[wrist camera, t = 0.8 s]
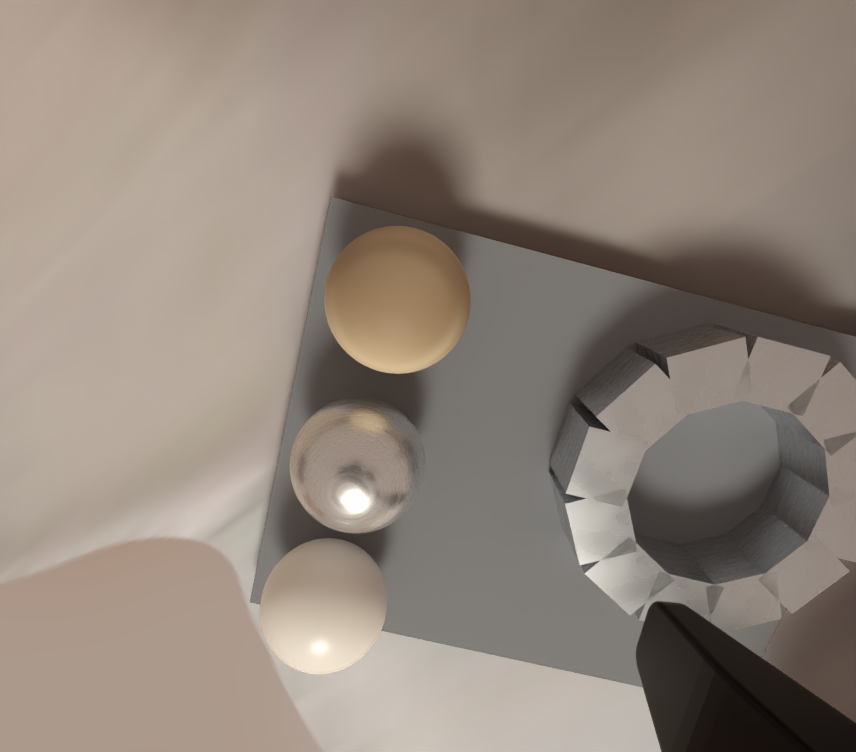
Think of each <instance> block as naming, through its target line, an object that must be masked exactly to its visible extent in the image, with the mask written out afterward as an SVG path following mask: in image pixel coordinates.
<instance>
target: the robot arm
mask: <svg viewBox="0 0 856 752" xmlns="http://www.w3.org/2000/svg"><path fill="white" fill-rule="evenodd" d="M636 664H637V668H638V672H639V675H640V679H641V682H642V686H643V689H644V693H645V696H646V700H647V703H648V707H649V710H650V713H651V717H652V720H653V724H654V727H655V731H656V734H657V738H658V741H659V745H660V748H661V752H856V723H855V722H853V721H852V720H850V719H849V718H848V717H846V716H845V715H843V714H842V713H840V712H839V711H837V710H836V709H835V708H833V707H832V706H830V705H829V704H827V703H826V702H825V701H823V700H822V699H820V698H819V697H817V696H816V695H814V694H813V693H812V692H810V691H809V690H807V689H806V688H804V687H803V686H801V685H800V684H799V683H797V682H796V681H794V680H793V679H791V678H790V677H788V676H787V675H786V674H784V673H783V672H781V671H780V670H778V669H777V668H776V667H774V666H773V665H771V664H770V663H768V662H767V661H765V660H764V659H763V658H761V657H760V656H758V655H757V654H755V653H754V652H752V651H751V650H750V649H748V648H747V647H745V646H744V645H742V644H741V643H740V642H738V641H737V640H735V639H734V638H732V637H731V636H729V635H728V634H727V633H725V632H724V631H722V630H721V629H719V628H718V627H716V626H715V625H714V624H712V623H711V622H709V621H708V620H706V619H705V618H704V617H702V616H701V615H699V614H698V613H696V612H695V611H693V610H692V609H691V608H689V607H688V606H686V605H684V604H681V603H675V602H664V601H656V602H653V603H652V604H651V605H650V607H649V609H648V611H647V615H646V618H645V621H644V624H643V627H642V631H641V634H640V637H639V640H638V643H637V647H636Z"/></svg>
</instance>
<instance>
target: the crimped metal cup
mask: <svg viewBox="0 0 856 752" xmlns="http://www.w3.org/2000/svg"><path fill="white" fill-rule="evenodd" d="M636 347H637V352H638V354H637V353H635V352H633V351H632V350H630V349H628V348H625V349H624V350H623V351H621V352H620V353H619V354H618V355H617V356H616V357H615V358H614V359H613V360H612V361H610V362H609V363H608V364H607V365H606V366H605V367H604V368H603V369H602V370H601V371H600V372H598V373H597V374H596V375H595V376H594V377H593V378H592V379H591V380H590V381H589V382H587V383H586V384H585V385H584V386H583V387H582V388H581V389H580V390H579V391H578V392H577V393H575V395H576V396H577V397H578V398H579V399H580V400H581V401H582V402H583V403H584V404H585V405H586V407H585V406H581V405H577V404H573V403H569V405H568V407H567V410H566V413H565V416H564V419H563V422H562V425H561V428H560V431H559V434H558V437H557V440H556V443H555V446H554V449H553V452H552V455H551V458H550V460H549V463H550V465H551V467H552V469H553V470H552V471H548V472H549V476H550V480H551V484H552V488H553V492H554V496H555V501H556V505H557V509H558V513H559V517H560V521H561V526H562V528H563V530H564V533H565V535H566V537H567V539H568V541H569V543H570V546H571V548H572V550H573V552H574V554H575V556H576V559H577V561H578V563H579V565H581V567H582V569H583V571H584V574H585V575H587V576H588V577H589V578H590V579H591V580H592V581H593V582H594V583H595V584H596V585H597V586H598V587H600V588H601V589H602V590H603V591H604V592H605V593H606V594H607V595H608V596H609V597H610V598H611V599H613V600H614V601H615V602H616V603H617V604H618V605H619V606H620V607H621V608H622V609H623V610H624V611H626V612H627V613H628V614H629V615H631V614H633V613H634V612H635V614H636V616H637V618H638V620H641V621H645V618H646V615H647V611H648V609H649V607H650V605H651V604H652V603H653V602H656V601H664V602H675V603H681V604H684V605H686V606H688V607H689V608H691V609H692V610H693V611H695V612H696V613H698V614H699V615H701V616H702V617H704V618H705V619H706V620H708V621H709V622H711V623H712V624H714V625H715V626H716V627H718V628H719V629H721V630H722V631H724V632H726V631H730V630H735V629H739V628H743V627H748V626H752V625H757V624H761V623H766V622H770V621H774V620H779V619H782V616H781V608H780V603H781V604H782V605H783V606H784V607H785V608H786V609H787V610H788V611H789V612H790V613H791V614H793V613H794V612H796V611H797V610H798V609H800V608H801V607H802V606H804V605H805V604H806V603H808V602H809V601H810V600H812V599H813V598H815V597H816V596H817V595H819V594H820V593H821V592H823V591H824V590H825V589H827V588H828V587H829V586H831V585H832V584H833V583H835V582H836V581H838V580H839V579H840V578H842V577H843V576H844V575H846V574H847V573H848V572H850V571H849V570H848V569H847V568H846V567H845V565H844V564H843V563H842V562H841V561H840V560H839V559H843V560H847V561H851V562H855V563H856V380H855V379H854V377H853V376H852V375H851V374H850V373H849V371H848V370H847V369H846V368H845V367H844V366H843V364H842V363H841V362H839V361H836V360H832V359H830V357H831V356H829V355H826V354H822V353H819V352H816V351H812V350H809V349H805V348H802V347H799V346H795V345H792V344H788V343H785V342H782V341H778V340H774V339H771V338H767V337H763V336H759V335H756V334H752V333H748V332H744V331H740V330H737V329H733V328H729V327H725V326H721V325H718V324H714V327H712V326H709V325H706V324H701V325H698V326H694V327H690V328H686V329H683V330H679V331H675V332H671V333H668V334H664V335H660V336H656V337H653V338H649V339H645V340H641V341H638V342H636ZM739 401H746V402H750V403H753V404H757V405H760V406H761V407H762V409H763V410H764V411H765V412H766V413H767V414H768V415H769V416H770V417H771V418H772V420H773V421H774V422H775V424H776V432H777V440H778V449H779V457H780V467H779V469H778V471H777V473H776V475H775V477H774V480H773V482H772V484H771V486H770V488H769V490H768V493H767V495H766V497H765V499H764V501H763V503H762V505H761V506H760V507H759V508H757V509H756V510H755V511H753V512H752V513H751V514H750V515H748V516H747V517H746V518H745V519H743V520H742V521H741V522H740V523H738V524H737V525H736V526H735V527H733V528H732V529H731V530H730V531H728V532H727V533H726V534H722V535H717V536H713V537H709V538H705V539H701V540H696V541H692V542H688V543H684V544H679V543H675V542H671V541H667V540H662V539H658V538H654V537H650V536H645V535H641V534H639V533H638V532H637V531H636V530H635V529H634V528H633V525H632V520H631V515H630V510H629V505H628V500H627V497H628V494H629V492H630V489H631V487H632V484H633V481H634V479H635V476H636V474H637V471H638V469H639V466H640V463H641V461H642V458H643V456H644V453H645V451H646V450H647V449H648V448H649V447H651V446H652V445H653V444H654V443H655V442H656V441H657V440H659V439H660V438H661V437H662V436H663V435H664V434H666V433H667V432H668V431H669V430H670V429H671V428H673V427H674V426H675V425H676V424H677V423H678V422H680V421H681V420H682V419H683V418H684V417H685V416H687V415H688V414H692V413H696V412H700V411H704V410H708V409H712V408H716V407H719V406H723V405H727V404H731V403H735V402H739ZM838 558H839V559H838Z"/></svg>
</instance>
